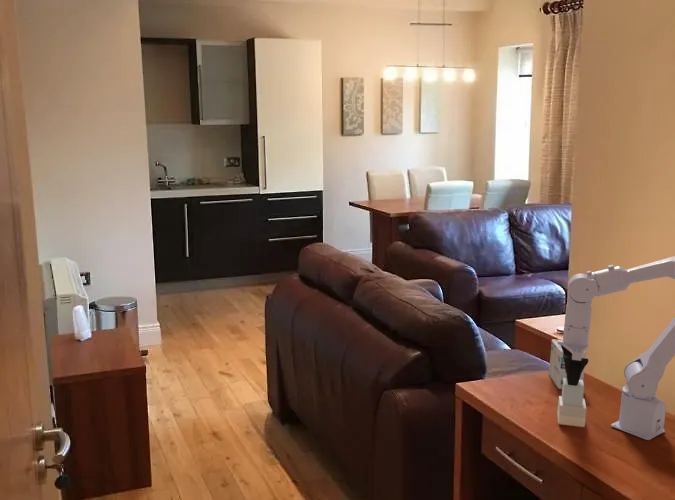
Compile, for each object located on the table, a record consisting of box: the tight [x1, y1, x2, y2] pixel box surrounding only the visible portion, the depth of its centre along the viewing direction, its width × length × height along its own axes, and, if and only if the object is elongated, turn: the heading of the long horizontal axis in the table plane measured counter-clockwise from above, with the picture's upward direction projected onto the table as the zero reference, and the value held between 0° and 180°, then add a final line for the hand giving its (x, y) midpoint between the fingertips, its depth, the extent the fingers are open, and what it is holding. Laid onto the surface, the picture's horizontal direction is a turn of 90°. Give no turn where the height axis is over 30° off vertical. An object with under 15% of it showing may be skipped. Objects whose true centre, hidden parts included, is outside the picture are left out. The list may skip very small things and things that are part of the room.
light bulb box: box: [548, 339, 587, 390], centre depth 202 cm, size 11×7×11 cm, turn 179°
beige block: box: [557, 395, 587, 418], centre depth 179 cm, size 6×6×2 cm
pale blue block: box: [561, 378, 585, 407], centre depth 178 cm, size 4×4×5 cm
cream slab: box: [556, 408, 586, 428], centre depth 179 cm, size 6×6×2 cm
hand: (571, 379), depth 177 cm, fingers open, 7 cm apart
